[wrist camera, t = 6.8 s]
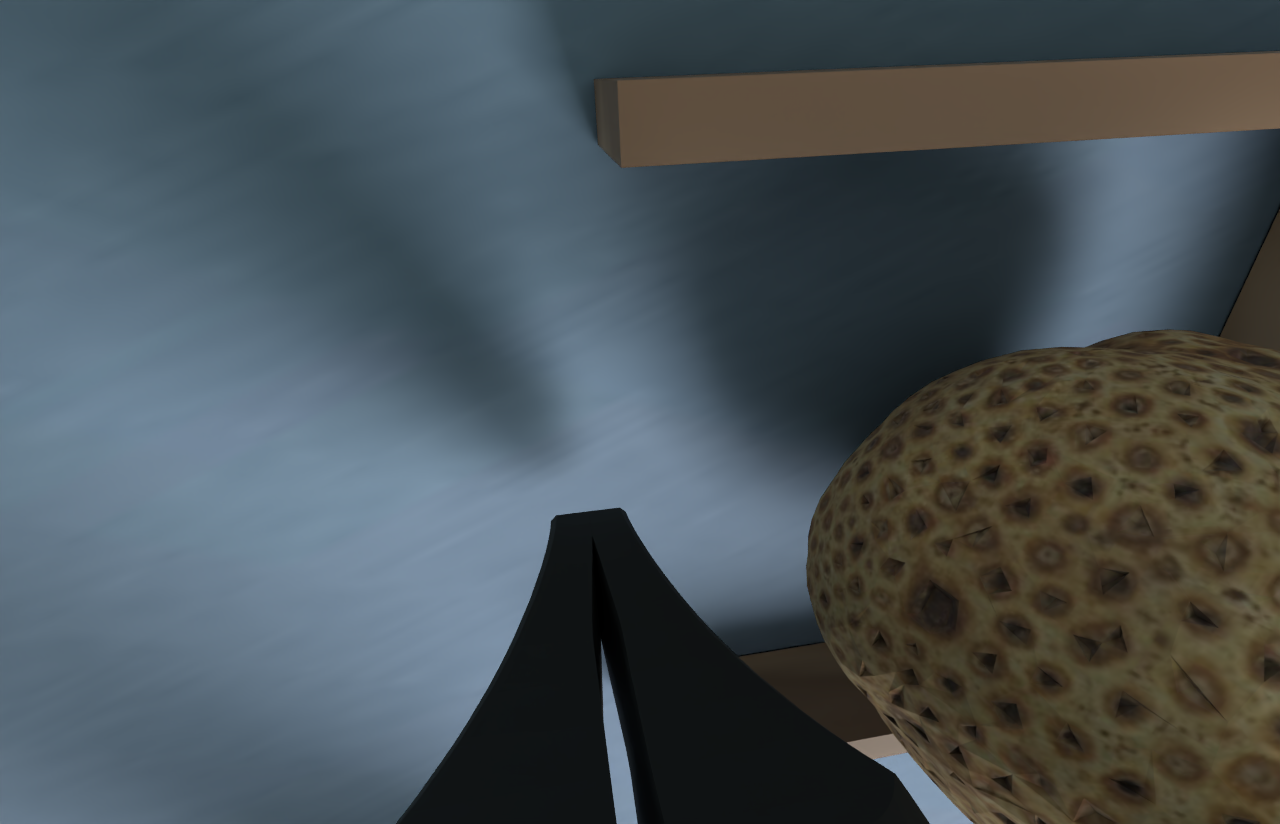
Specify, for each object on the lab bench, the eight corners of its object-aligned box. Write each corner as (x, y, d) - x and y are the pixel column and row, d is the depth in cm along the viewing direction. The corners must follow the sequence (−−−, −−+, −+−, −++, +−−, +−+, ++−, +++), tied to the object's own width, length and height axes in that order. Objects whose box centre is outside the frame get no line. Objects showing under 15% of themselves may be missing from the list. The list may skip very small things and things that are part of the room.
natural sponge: (695, 562, 16) (900, 1154, 7) (821, 214, 12) (1624, 600, 3) (981, 582, 18) (1399, 1048, 9) (1166, 297, 14) (2177, 650, 5)
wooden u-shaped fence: (1114, 615, 20) (1276, 764, 16) (632, 696, 18) (666, 893, 14) (1397, 46, 12) (1886, 29, 8) (593, 79, 10) (645, 83, 6)
